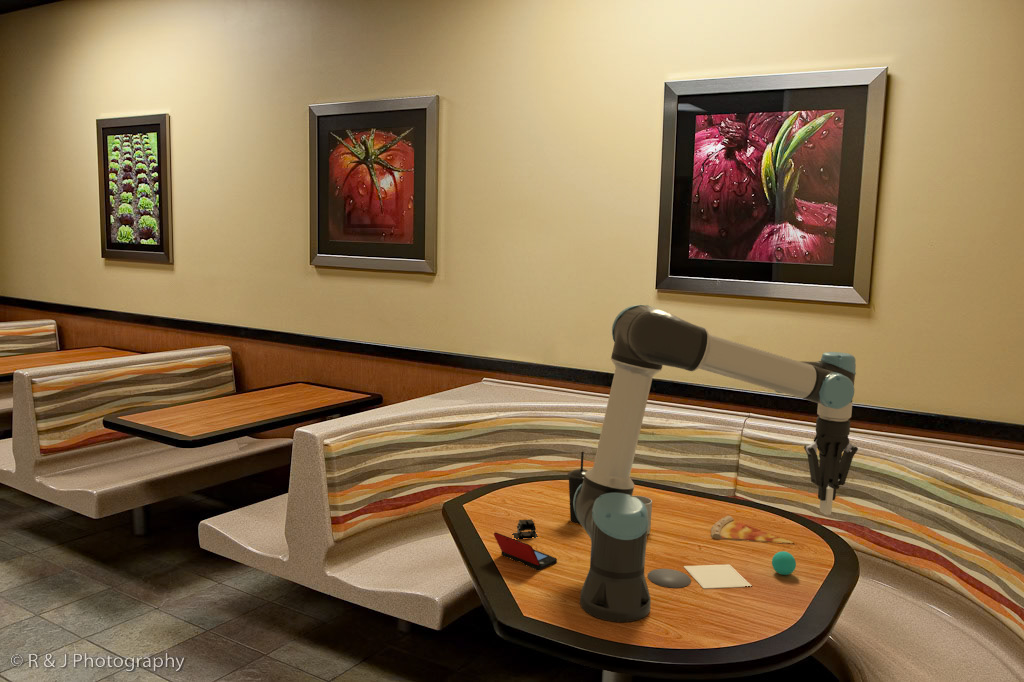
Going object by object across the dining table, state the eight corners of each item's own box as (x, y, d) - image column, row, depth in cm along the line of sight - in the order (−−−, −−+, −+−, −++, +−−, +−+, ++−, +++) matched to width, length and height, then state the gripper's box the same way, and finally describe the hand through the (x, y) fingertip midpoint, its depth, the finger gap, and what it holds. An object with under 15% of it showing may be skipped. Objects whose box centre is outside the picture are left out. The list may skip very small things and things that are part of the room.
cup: (645, 526, 216) (647, 495, 215) (657, 540, 206) (659, 507, 205) (620, 526, 215) (622, 495, 214) (630, 540, 205) (632, 508, 204)
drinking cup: (570, 527, 213) (574, 456, 211) (561, 517, 221) (565, 448, 218) (596, 525, 216) (600, 455, 213) (586, 515, 223) (590, 447, 220)
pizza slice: (763, 560, 197) (763, 552, 197) (692, 532, 214) (692, 525, 214) (796, 546, 207) (797, 539, 207) (726, 521, 224) (726, 514, 224)
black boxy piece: (505, 544, 201) (506, 527, 201) (500, 533, 208) (500, 517, 208) (552, 541, 204) (552, 525, 204) (544, 531, 211) (545, 515, 211)
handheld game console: (558, 563, 190) (560, 534, 189) (529, 576, 182) (531, 546, 181) (520, 548, 198) (521, 520, 197) (491, 560, 190) (492, 531, 189)
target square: (703, 588, 178) (703, 588, 178) (683, 566, 190) (683, 566, 190) (752, 586, 180) (752, 585, 180) (729, 565, 192) (729, 564, 192)
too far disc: (656, 588, 177) (656, 588, 177) (641, 570, 187) (641, 569, 187) (697, 587, 179) (697, 586, 179) (681, 568, 189) (681, 567, 189)
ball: (778, 579, 185) (779, 557, 184) (766, 569, 190) (768, 548, 190) (799, 578, 186) (801, 556, 185) (787, 568, 191) (789, 547, 191)
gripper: (849, 413, 189) (840, 506, 193) (800, 414, 187) (792, 508, 190) (868, 421, 182) (859, 517, 185) (817, 421, 180) (808, 519, 183)
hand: (825, 512), depth 188 cm, fingers closed
